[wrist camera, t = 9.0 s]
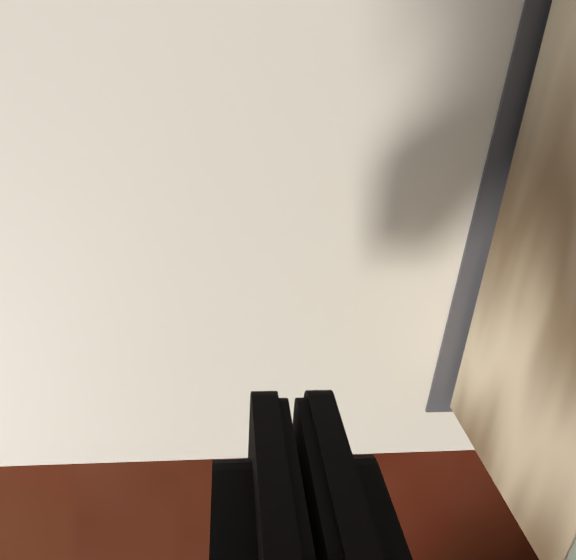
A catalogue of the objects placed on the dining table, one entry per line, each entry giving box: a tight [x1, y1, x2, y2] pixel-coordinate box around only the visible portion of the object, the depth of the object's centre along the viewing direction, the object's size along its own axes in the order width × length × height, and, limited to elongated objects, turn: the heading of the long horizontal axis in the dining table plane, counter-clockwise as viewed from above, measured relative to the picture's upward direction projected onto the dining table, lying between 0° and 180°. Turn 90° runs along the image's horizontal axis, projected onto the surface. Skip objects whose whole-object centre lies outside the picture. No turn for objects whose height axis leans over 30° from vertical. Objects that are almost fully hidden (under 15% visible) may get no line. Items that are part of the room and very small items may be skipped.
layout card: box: [0, 0, 552, 466], centre depth 14 cm, size 20×30×1 cm, turn 86°
